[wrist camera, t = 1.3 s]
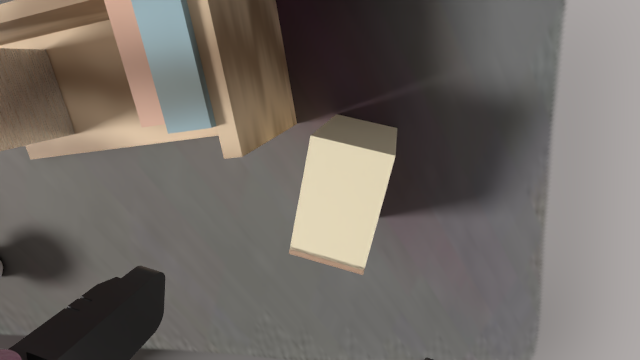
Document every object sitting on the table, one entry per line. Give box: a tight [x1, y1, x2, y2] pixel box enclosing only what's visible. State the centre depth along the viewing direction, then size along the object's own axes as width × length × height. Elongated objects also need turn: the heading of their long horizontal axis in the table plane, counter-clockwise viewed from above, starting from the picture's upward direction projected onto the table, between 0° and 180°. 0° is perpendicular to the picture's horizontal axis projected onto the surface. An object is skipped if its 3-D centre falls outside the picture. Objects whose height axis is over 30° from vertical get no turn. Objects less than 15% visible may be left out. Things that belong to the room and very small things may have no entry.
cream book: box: [289, 114, 397, 275], centre depth 23 cm, size 7×4×8 cm, turn 169°
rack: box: [0, 0, 297, 159], centre depth 24 cm, size 10×25×10 cm, turn 99°
